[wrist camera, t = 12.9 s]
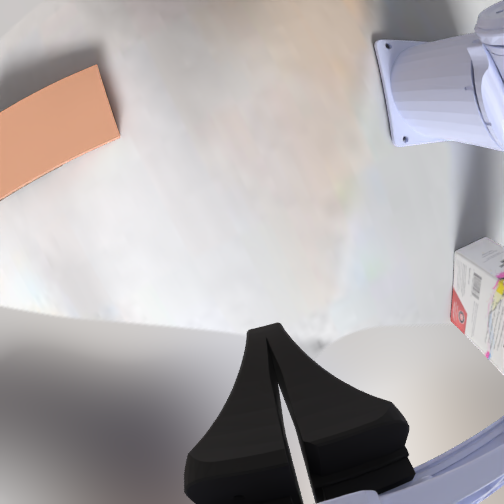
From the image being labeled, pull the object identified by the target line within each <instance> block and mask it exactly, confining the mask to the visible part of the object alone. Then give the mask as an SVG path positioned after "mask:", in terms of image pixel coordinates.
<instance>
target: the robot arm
mask: <svg viewBox="0 0 504 504" xmlns="http://www.w3.org/2000/svg"><path fill="white" fill-rule="evenodd" d="M474 30H475V33H470V34H465V35H460V36H455V37H450V38H446V39H441V40H437V41H433V42H422V41H407V40H377V41H376V42H375V44H374V47H375V51H376V55H377V59H378V64H379V68H380V73H381V78H382V83H383V88H384V93H385V99H386V104H387V110H388V116H389V123H390V129H391V137H392V142H393V144H394V145H395V146H398V147H403V146H410V145H417V144H425V143H433V142H441V141H450V140H451V141H456V142H461V143H466V144H471V145H476V146H481V147H485V148H490V149H494V150H498V151H502V152H504V0H502V1H500V2H498V3H496V4H493V5H492V6H490V7H488V8H486V9H485V10H483V11H482V12H481V13H480V14H479V16H478V19H477V24H476V25H475V28H474ZM385 44H387V45H388V46H389V49H387V48H386V46H385ZM404 136H405V138H406V140H405V142H403V137H404ZM278 384H279V386H280V389H281V392H282V394H283V397H284V400H285V402H286V405H287V407H288V410H289V412H290V415H291V418H292V420H293V423H294V426H295V429H296V432H297V436H298V440H299V443H300V447H301V451H302V454H303V458H304V461H305V465H306V469H307V473H308V477H309V480H310V484H311V488H312V491H313V495H314V499H315V503H316V504H479V503H480V502H481V501H483V500H484V499H486V498H487V497H488V496H490V495H491V494H493V493H494V492H495V491H497V490H498V489H499V488H501V487H502V486H503V485H504V416H503V417H501V418H500V419H499V420H497V421H495V422H494V423H492V424H491V425H490V426H488V427H487V428H485V429H483V430H482V431H480V432H479V433H477V434H476V435H474V436H473V437H471V438H469V439H468V440H466V441H464V442H462V443H461V444H459V445H457V446H456V447H454V448H452V449H450V450H448V451H447V452H445V453H443V454H441V455H439V456H437V457H435V458H433V459H431V460H430V461H427V462H426V463H423V464H421V465H419V466H417V467H415V468H413V467H412V465H411V463H410V461H409V459H408V456H409V454H408V451H407V449H406V447H405V443H406V440H407V436H408V433H409V425H408V423H407V421H406V419H405V418H404V416H403V415H402V414H401V413H400V411H399V410H398V409H397V408H396V407H395V405H394V404H393V403H392V402H390V401H386V400H383V399H380V398H377V397H374V396H372V395H369V394H367V393H365V392H362V391H360V390H358V389H356V388H354V387H352V386H350V385H349V384H347V383H345V382H343V381H341V380H340V379H338V378H336V377H335V376H333V375H332V374H330V373H329V372H327V371H326V370H325V369H323V368H322V367H321V366H319V365H318V364H317V363H316V362H315V361H313V360H312V359H311V358H310V357H309V356H308V355H307V354H306V353H305V352H304V351H303V350H302V349H301V348H300V347H299V346H298V345H297V344H296V343H295V342H294V341H293V340H292V339H291V337H290V336H289V335H288V334H287V332H286V331H285V330H284V328H283V326H282V325H281V324H280V323H274V324H270V325H267V326H263V327H259V328H255V329H250V330H248V332H247V340H246V347H245V352H244V356H243V360H242V363H241V367H240V370H239V373H238V376H237V379H236V381H235V384H234V386H233V389H232V391H231V394H230V395H229V397H228V399H227V401H226V403H225V405H224V407H223V409H222V411H221V412H220V414H219V416H218V417H217V419H216V420H215V422H214V423H213V425H212V426H211V427H210V429H209V430H208V431H207V433H206V434H205V435H204V437H203V438H202V439H201V440H200V441H199V442H198V444H197V445H196V446H195V447H194V448H193V449H192V450H191V451H190V452H189V453H188V456H187V461H186V466H185V472H184V492H185V494H186V495H187V496H188V497H189V498H190V499H191V500H192V501H193V502H194V503H196V504H303V500H302V496H301V492H300V488H299V485H298V481H297V477H296V473H295V469H294V466H293V461H292V458H291V453H290V449H289V446H288V442H287V438H286V434H285V428H284V423H283V415H282V409H281V401H280V394H279V387H278Z"/></svg>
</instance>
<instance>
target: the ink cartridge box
mask: <svg viewBox="0 0 504 504" xmlns="http://www.w3.org/2000/svg"><path fill="white" fill-rule="evenodd" d="M451 322H452V323H453V324H454V325H456V326H457V327H458V328H459V329H460V330H461V331H462V332H463V333H464V334H465V336H466V337H468V339H470V341H471V342H472V343H473V344H474V345H475V346H476V347H477V348H478V349H479V350H480V351H481V352H482V353H483V354H484V355H485V356H486V357H487V358H488V359H489V360H490V361H491V362H492V363H493V364H494V365H495V367H496V368H497V369H498V370H499V371H500V372H501V373H502V374H503V375H504V246H502V245H500V244H498V243H496V242H495V241H493V240H491V239H489V238H487V237H484V238H482V239H479V240H477V241H475V242H473V243H471V244H469V245H467V246H465V247H463V248H460V249H458V250H456V251H455V253H454V280H453V297H452V308H451Z"/></svg>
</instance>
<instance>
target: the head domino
mask: <svg viewBox="0 0 504 504" xmlns="http://www.w3.org/2000/svg"><path fill="white" fill-rule="evenodd" d="M118 138H120V134H119V131H118V128H117V125H116V122H115V119H114V116H113V113H112V110H111V107H110V104H109V101H108V98H107V95H106V92H105V89H104V86H103V82H102V79H101V76H100V73H99V69H98V66H97V64H96V65H94V66H91V67H89V68H86V69H84V70H82V71H79V72H77V73H75V74H72V75H70V76H68V77H66V78H64V79H61V80H59V81H57V82H55V83H53V84H51V85H49V86H47V87H45V88H43V89H41V90H39V91H37V92H35V93H33V94H31V95H30V96H28V97H26V98H24V99H22V100H21V101H19V102H17V103H15V104H14V105H12V106H10V107H8V108H7V109H5V110H3V111H2V112H0V199H2V198H4V197H6V196H8V195H9V194H11V193H13V192H14V191H16V190H18V189H19V188H21V187H23V186H24V185H26V184H28V183H30V182H31V181H33V180H35V179H37V178H38V177H40V176H42V175H44V174H46V173H48V172H49V171H51V170H53V169H55V168H57V167H59V166H61V165H63V164H65V163H67V162H69V161H71V160H73V159H75V158H77V157H79V156H81V155H83V154H85V153H87V152H89V151H91V150H94V149H96V148H98V147H100V146H102V145H105V144H107V143H109V142H111V141H114V140H116V139H118Z"/></svg>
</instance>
